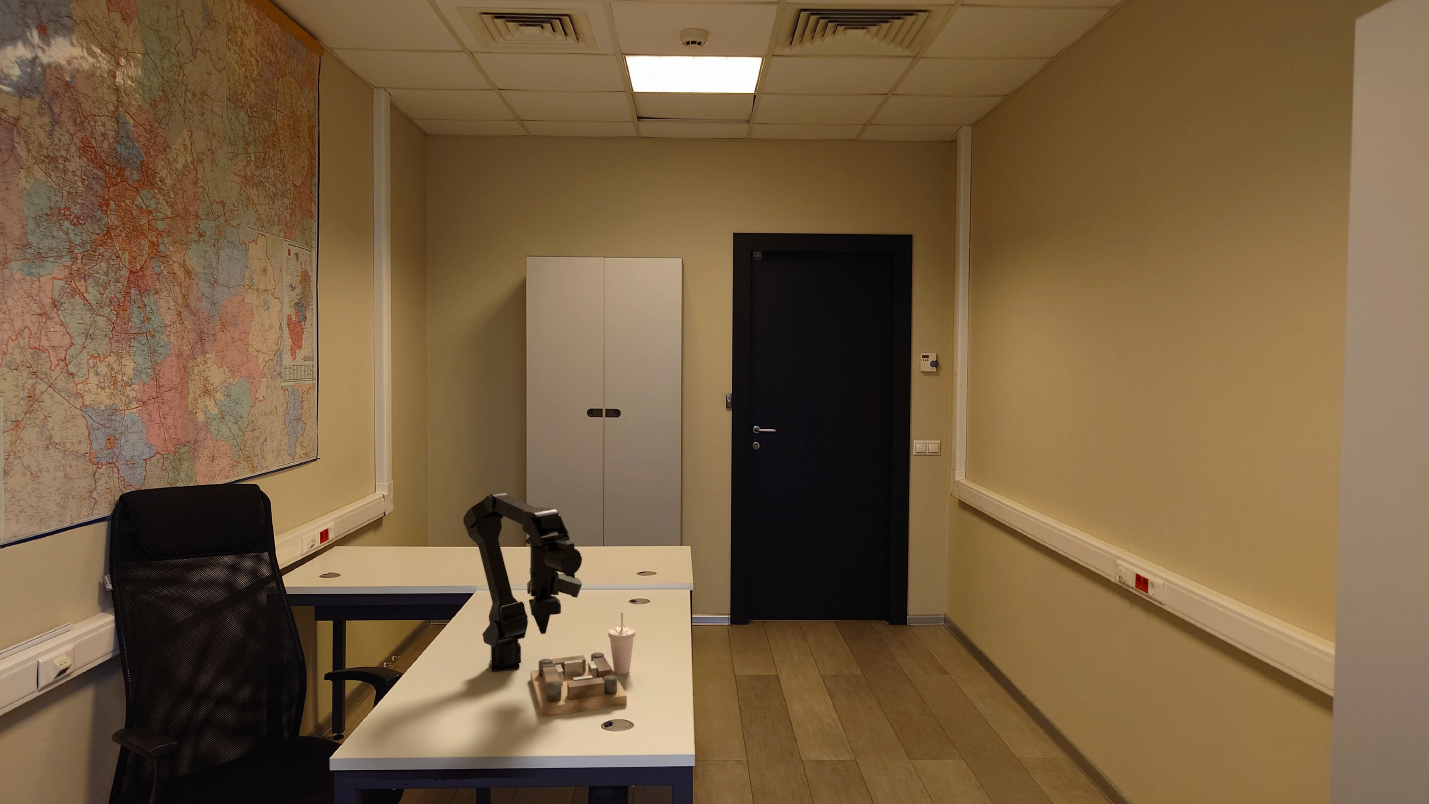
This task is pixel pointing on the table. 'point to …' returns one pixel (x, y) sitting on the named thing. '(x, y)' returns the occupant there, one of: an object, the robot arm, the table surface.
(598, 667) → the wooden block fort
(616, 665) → the smoothie
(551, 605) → the robot arm
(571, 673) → the brackets
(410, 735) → the table surface
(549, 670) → the leg
